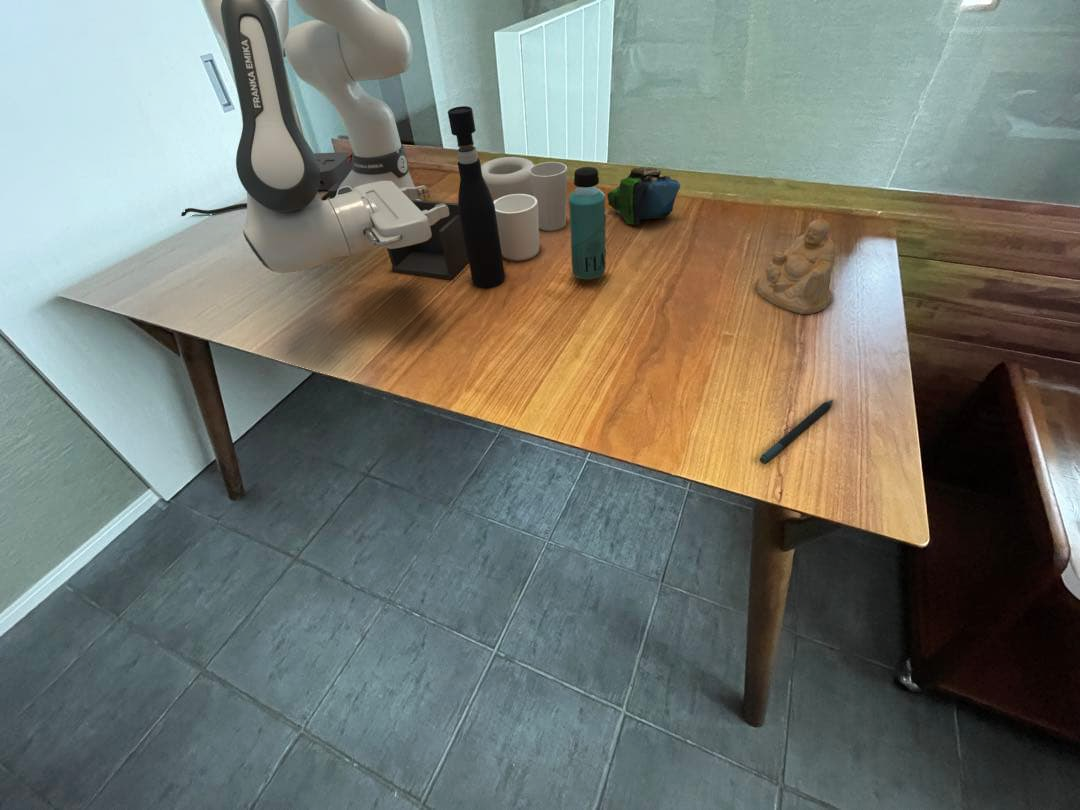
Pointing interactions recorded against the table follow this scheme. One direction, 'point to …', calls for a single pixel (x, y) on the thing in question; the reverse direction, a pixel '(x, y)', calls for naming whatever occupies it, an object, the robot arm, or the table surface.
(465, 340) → the table surface
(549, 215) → the cup
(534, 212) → the mug
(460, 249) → the book rack
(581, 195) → the beverage bottle
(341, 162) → the streaming box
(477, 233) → the wine bottle
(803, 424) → the pen
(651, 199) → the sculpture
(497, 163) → the thick torus
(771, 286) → the statue
